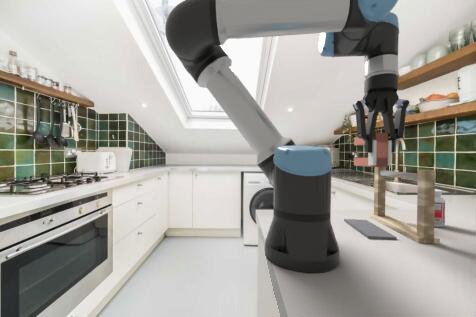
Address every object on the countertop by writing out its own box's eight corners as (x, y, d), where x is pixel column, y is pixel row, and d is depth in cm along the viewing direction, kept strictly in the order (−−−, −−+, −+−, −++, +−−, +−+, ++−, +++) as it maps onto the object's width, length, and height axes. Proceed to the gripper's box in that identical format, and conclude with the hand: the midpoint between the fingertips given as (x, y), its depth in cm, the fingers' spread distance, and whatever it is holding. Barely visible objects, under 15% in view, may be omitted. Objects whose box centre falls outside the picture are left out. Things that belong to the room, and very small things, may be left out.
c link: (387, 167, 58) (387, 132, 58) (375, 167, 58) (375, 132, 58) (363, 165, 71) (364, 137, 71) (353, 165, 71) (354, 137, 71)
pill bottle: (428, 221, 74) (429, 188, 74) (450, 227, 68) (450, 191, 68) (414, 222, 73) (414, 188, 73) (434, 228, 67) (434, 191, 67)
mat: (368, 238, 57) (368, 236, 57) (344, 220, 73) (344, 219, 73) (396, 239, 57) (396, 237, 57) (366, 221, 73) (366, 219, 73)
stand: (418, 242, 55) (419, 170, 55) (370, 217, 78) (370, 166, 78) (439, 243, 54) (440, 170, 54) (384, 217, 78) (385, 166, 78)
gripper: (403, 81, 62) (402, 165, 62) (343, 82, 63) (342, 164, 63) (423, 70, 55) (422, 166, 55) (355, 72, 56) (354, 165, 56)
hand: (379, 165), depth 59 cm, fingers closed on c link, 3 cm apart
